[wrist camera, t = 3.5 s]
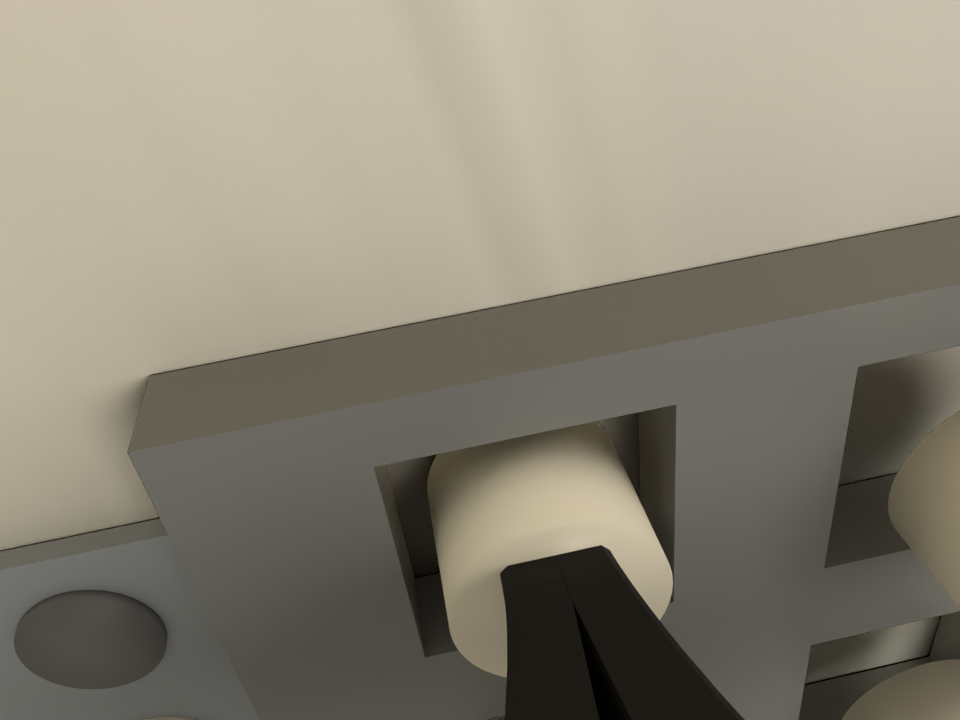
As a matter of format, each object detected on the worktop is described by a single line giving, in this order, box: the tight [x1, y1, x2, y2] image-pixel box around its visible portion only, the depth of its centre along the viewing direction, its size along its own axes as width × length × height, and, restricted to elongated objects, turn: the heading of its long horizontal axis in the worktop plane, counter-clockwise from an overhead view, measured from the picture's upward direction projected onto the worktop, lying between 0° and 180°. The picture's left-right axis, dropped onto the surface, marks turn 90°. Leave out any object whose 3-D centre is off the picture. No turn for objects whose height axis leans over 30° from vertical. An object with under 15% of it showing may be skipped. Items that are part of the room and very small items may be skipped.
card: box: [0, 519, 259, 720], centre depth 14 cm, size 7×7×1 cm
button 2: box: [427, 421, 673, 678], centre depth 12 cm, size 3×3×2 cm
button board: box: [127, 217, 960, 720], centre depth 14 cm, size 16×12×2 cm
